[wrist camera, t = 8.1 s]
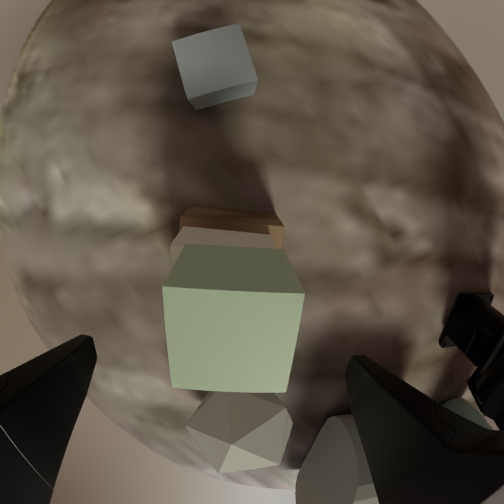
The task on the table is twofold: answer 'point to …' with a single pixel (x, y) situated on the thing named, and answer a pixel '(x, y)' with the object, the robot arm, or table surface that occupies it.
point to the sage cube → (232, 318)
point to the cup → (467, 411)
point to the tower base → (234, 221)
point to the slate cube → (215, 66)
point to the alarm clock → (336, 467)
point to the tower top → (217, 240)
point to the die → (241, 430)
